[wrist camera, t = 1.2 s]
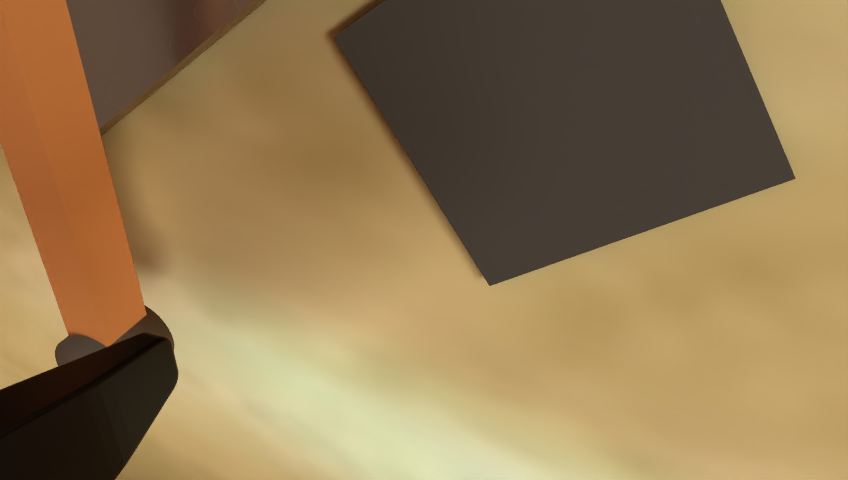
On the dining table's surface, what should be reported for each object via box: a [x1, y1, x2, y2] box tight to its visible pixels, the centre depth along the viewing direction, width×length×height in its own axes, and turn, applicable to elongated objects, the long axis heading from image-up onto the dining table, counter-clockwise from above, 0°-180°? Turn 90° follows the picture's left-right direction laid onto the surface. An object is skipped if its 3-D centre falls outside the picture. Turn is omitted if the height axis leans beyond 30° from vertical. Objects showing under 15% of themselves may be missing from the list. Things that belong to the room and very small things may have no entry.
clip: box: [0, 0, 174, 366], centre depth 13 cm, size 13×8×4 cm, turn 178°
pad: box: [334, 0, 796, 286], centre depth 13 cm, size 7×7×1 cm
